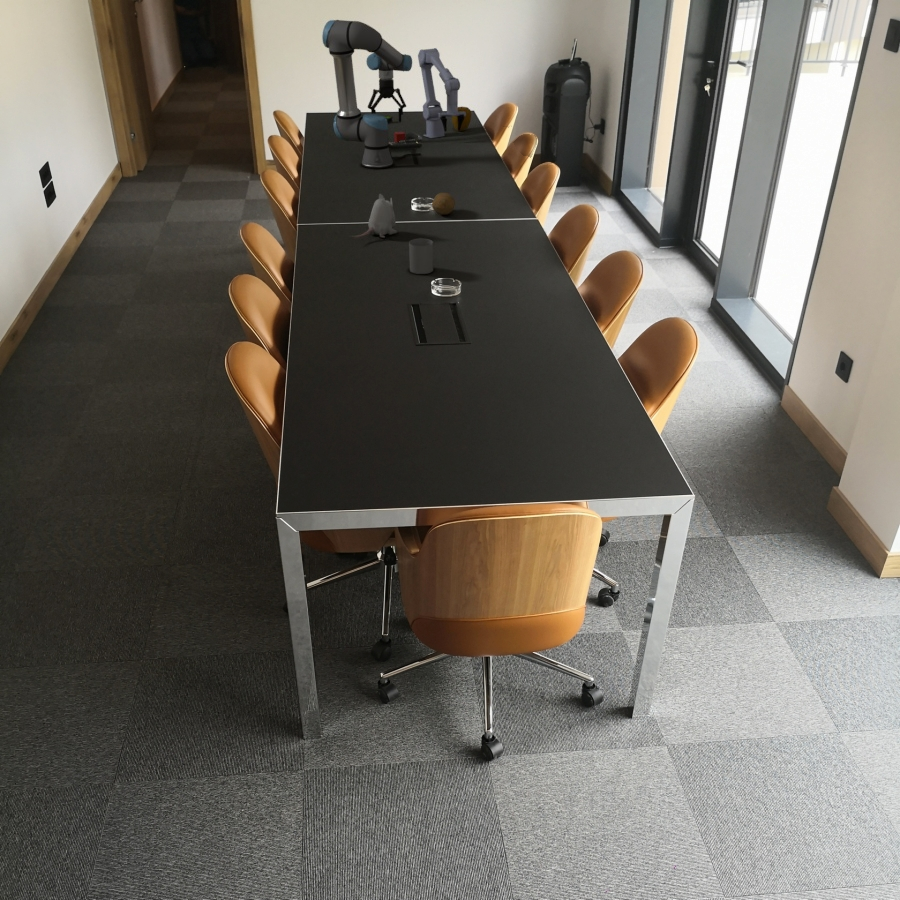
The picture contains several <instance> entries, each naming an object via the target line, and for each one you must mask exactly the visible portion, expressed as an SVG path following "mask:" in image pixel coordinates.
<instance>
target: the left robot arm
mask: <svg viewBox="0 0 900 900" xmlns="http://www.w3.org/2000/svg"><path fill="white" fill-rule="evenodd" d="M321 37H322V38H321V40H322V45H323V46H324V47H325V48H327V49H328V53H329V55H330V56H331V57H332V58H333V66H334V74H335V83H336V90H337V91H336V92H337V100H338V107H339V109H338V110H337V111H336V115H335V116H334V119H333V123H332V124H333V126H332V127H333V130H334V131H333V132H334V134H335V135H336V137H337V138H338V139H340V140H342V141H345V142H358V143H364V151H363V155H362V159H361V166H362V167H363V168H366V169H371V170H381V169H387V168H390V167H392V166H394V161H393V160H401V159H403V158H405V157H408V156H421V155H422V154H421V152H418V153H417V152H415V153H414V152H413V153H405V154H403V155H402V156H392V155H391V152H390V151H391V150H390V147H389V145H390V144H389V123H388V122H387V119H386V118H385V116H384V115H382V114H380V113H379V114H378V113H377V110H376V108H377V107H378V105H379V103H380V102H381V101H382V100H383V99H384V100H385V99H392V100H393V101H394V102H395V103H396V104H397V106H398V111H397V112H398V122H399V123H401V122H402V116H403V115H404V108H407V104H406V101H405V100H404V98H403V95H402V94H401V89H400V88H399V87H397V88H395V86H394V85H395V84H394V83H395V82H394V71H395V72H409V71H411V69H412V67H413V58H412V56H411V54H403V53H401V51H399V50H397V49H396V47H394V46H393V45H392V44H390V43H389V42H388V41H386V40H385V39H384V38H383V36H382V34H381V33H380V32H379V31H377V30H376V29H375V28H374V27H372V26H370V25H369V24H367V23H365V22H362V21H358V20H343V19H330V20H328V21H327V22H326V23H325V25H324V27H323V29H322V35H321ZM355 50H361V51H367V52H368V53H370V54H369V55H367V57H366V66H367V67H368V69H370V70H371V71H378V79H379V80H378V89H375V88H373V89H372V95H371V98H370V100H369V102H368V105H367V108H368V110H370V113H369V112H368V113H365V114H363V117H362V116H361V115H362V110H361V109H360V108H358V103H357V102H358V101H357V92H356V84H355V74H354V63H353V54H354V53H355ZM395 93H396V94H397V96H398V99H399V100H400V101H399V100H398V99H397V97H396V96H395V95H394V94H395ZM378 94H379V95H378ZM377 95H378V96H377ZM376 97H377V98H376ZM375 99H376V100H375Z"/></svg>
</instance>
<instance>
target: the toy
mask: <svg viewBox="0 0 900 900" xmlns="http://www.w3.org/2000/svg"><path fill="white" fill-rule="evenodd" d="M396 222H397V219H396V215H395V211H394V202H393V199H392V197H390V200H387V199H385V196H384V195H383V194H382V193H379V194H378V199H376V200H375V201H374V203H373V206H372V208H371V212H370V217H369V219H368V223H367V224H368V225H367V226H368V229H367V231H365V232H363V233H362V234H358V235H350V238H351V237H352V238H363V237H365V236H367V235H369V234H370V235H375V234H377V235H379V238H382V239H385V238H386V236H385V235H387V234H388V235H394V234H397V233H398V231H397V230H396V229H394V228H395V227H396V225H397V224H396Z"/></svg>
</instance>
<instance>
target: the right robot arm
mask: <svg viewBox="0 0 900 900" xmlns="http://www.w3.org/2000/svg"><path fill="white" fill-rule="evenodd" d="M440 55H441V53H440V51H439V50H438V49H437V47H435V48H426V49H420V50H419V51H418V54H417V59H418V64H419V68H420V69H421V77H422V82H423V88H424V95H425V102H424V103H423V105H422V117H423V118H424V120H425V123H426V124H425V126H426V127H425V130H426V134H425V133H424V134H423V135H422V136H423V137H426V138H428V139H436V138H440V137H445V136H446V135H445V132H447V129H448V128H447V125H448V124H447V123H448V118H449V117H451V118H452V116H457V118H458V130H459V131H458V132H461V131H460V129H461V125H462V122H463V120H464V116H466V112H465V111H458V107H459V105H458V104H459V103H458V102H459V101H458V100H459V90H460V88H461V82H460V80H459V78H456V77H455V76H454V75H453V74H452V72H451V71H450V69H449V68H447V67H445V65H444V64H443V62H442V59H441V58H440V57H441V56H440ZM433 67H434V68H435V69H436V70H437V71H438V72H439V73H438V76H439V78H440V79H441V81H442V82H443V84H444V90H445V95H446V111H443V110H444V109H443V108H442V105H441V102H440V101H438V100H437V98H436V97H437V96H436V90H435V85H434V79H433V73H432V68H433Z"/></svg>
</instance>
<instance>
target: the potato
mask: <svg viewBox="0 0 900 900" xmlns="http://www.w3.org/2000/svg"><path fill="white" fill-rule="evenodd" d="M455 206H456V200H455V198H454V196H452V195H451V194H449V193H448V192H439V193H437V194H436V195H435V197H434V198H433V200H432V201H431V207H432V209H433V210H434V212H436V213H437V214H439V215H441V216H442V215H449V214H450V213H452V212H453V211H454V209H455Z"/></svg>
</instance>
